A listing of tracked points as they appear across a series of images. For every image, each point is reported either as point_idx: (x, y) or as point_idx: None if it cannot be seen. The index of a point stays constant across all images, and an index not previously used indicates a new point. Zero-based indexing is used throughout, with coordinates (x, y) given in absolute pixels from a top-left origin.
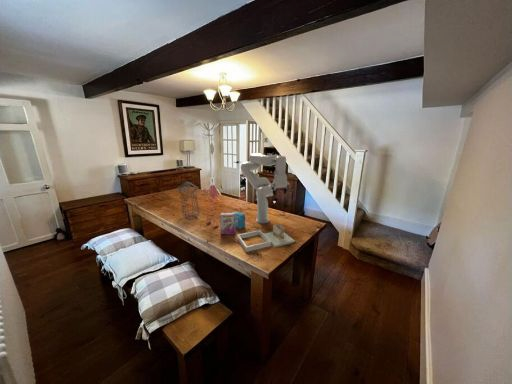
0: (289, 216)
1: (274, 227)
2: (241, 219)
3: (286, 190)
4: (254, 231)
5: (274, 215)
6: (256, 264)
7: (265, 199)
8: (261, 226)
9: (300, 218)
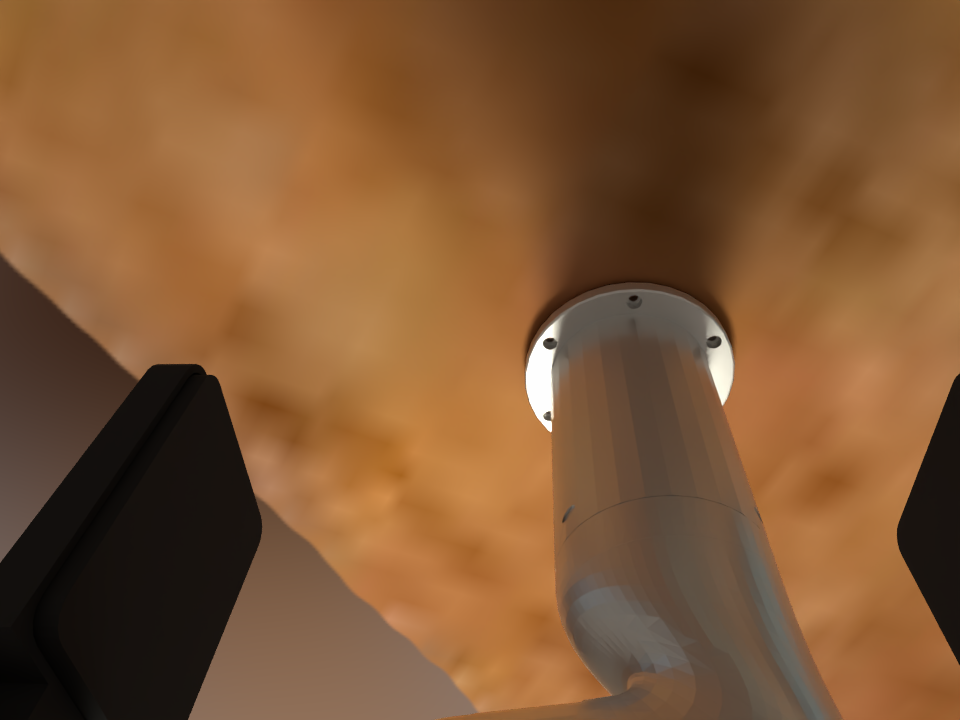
0: (188, 348)
1: None
2: None
3: (39, 512)
4: None
5: (388, 442)
6: None
7: (689, 620)
8: (748, 212)
9: (37, 234)
